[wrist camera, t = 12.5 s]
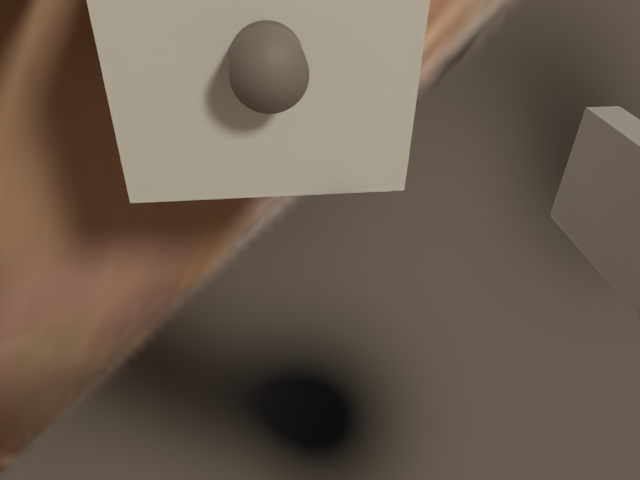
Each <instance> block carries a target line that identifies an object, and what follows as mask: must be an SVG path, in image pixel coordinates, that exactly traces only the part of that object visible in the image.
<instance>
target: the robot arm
mask: <svg viewBox="0 0 640 480" xmlns="http://www.w3.org/2000/svg"><path fill="white" fill-rule="evenodd" d="M550 216H551V217H552V219H553V220H554V221H555V222H556V223H557V224H558V225H559V227H560V228H561V229H562V230H563V231H564V232H565V233H566V235H567V236H568V237H569V238H570V239H571V240H572V241H573V243H574V244H575V245H576V246H577V247H578V248H579V249H580V250H581V252H582V253H583V254H584V255H585V256H586V258H587V259H588V260H589V261H590V262H591V263H592V264H593V265H594V267H595V268H596V269H597V270H598V271H599V272H600V273H601V275H602V276H603V277H604V278H605V279H606V280H607V281H608V283H609V284H610V285H611V286H612V287H613V288H614V289H615V291H616V292H617V293H618V294H619V295H620V296H621V298H622V299H623V300H624V301H625V302H626V303H627V304H628V306H629V307H630V308H631V309H632V310H633V311H634V312H635V314H636V315H637V316H638V317H639V318H640V120H639V119H638V118H636V117H635V116H633V115H631V114H630V113H628V112H627V111H625V110H624V109H622V108H621V107H619V106H615V107H586V109H585V112H584V115H583V118H582V121H581V124H580V127H579V130H578V133H577V136H576V139H575V142H574V145H573V148H572V151H571V154H570V157H569V160H568V163H567V166H566V169H565V172H564V175H563V178H562V181H561V184H560V187H559V190H558V193H557V196H556V200H555V202H554V205H553V208H552V211H551V215H550Z"/></svg>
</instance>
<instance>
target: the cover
mask: <svg viewBox="0 0 640 480" xmlns="http://www.w3.org/2000/svg"><path fill="white" fill-rule="evenodd" d="M86 1H87V6H88V10H89V15H90V20H91V24H92V29H93V33H94V38H95V43H96V47H97V52H98V57H99V61H100V66H101V71H102V75H103V80H104V85H105V89H106V94H107V99H108V103H109V108H110V112H111V117H112V122H113V126H114V131H115V136H116V140H117V145H118V150H119V154H120V159H121V164H122V168H123V173H124V178H125V182H126V187H127V191H128V196H129V201H130V203H146V202H167V201H189V200H210V199H231V198H252V197H274V196H295V195H316V194H337V193H356V192H357V193H358V192H378V191H379V192H380V191H401V190H404V187H405V180H406V173H407V165H408V158H409V151H410V143H411V136H412V128H413V121H414V114H415V107H416V100H417V92H418V85H419V78H420V70H421V63H422V56H423V48H424V41H425V34H426V26H427V19H428V12H429V4H430V0H86Z"/></svg>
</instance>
